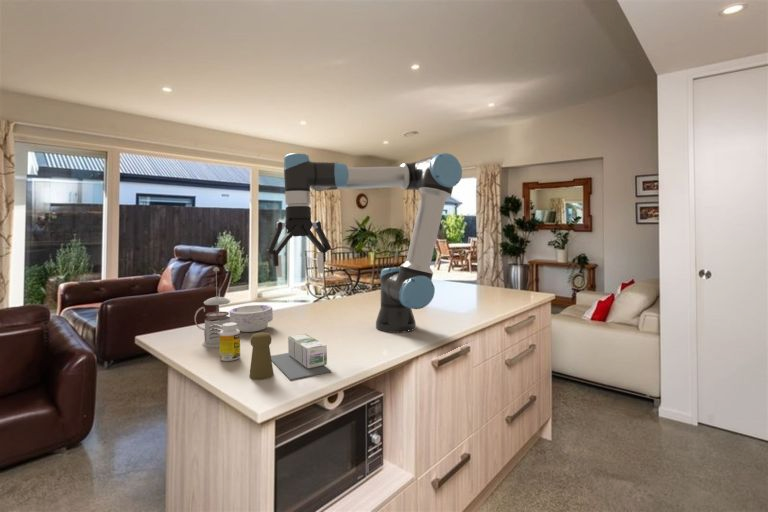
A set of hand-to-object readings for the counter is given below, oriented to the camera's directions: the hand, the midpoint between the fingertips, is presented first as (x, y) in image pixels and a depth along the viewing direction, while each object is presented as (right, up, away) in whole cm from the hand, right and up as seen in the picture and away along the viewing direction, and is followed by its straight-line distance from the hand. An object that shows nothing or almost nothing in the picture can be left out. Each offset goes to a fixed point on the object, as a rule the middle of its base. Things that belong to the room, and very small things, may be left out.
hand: (300, 274), depth 121 cm
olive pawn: (-6, -25, -20) cm, 33 cm away
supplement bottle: (-19, -24, -8) cm, 32 cm away
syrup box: (0, -20, -4) cm, 21 cm away
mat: (+2, -24, -12) cm, 27 cm away
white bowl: (-24, -22, +25) cm, 41 cm away
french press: (-30, -23, +7) cm, 38 cm away
